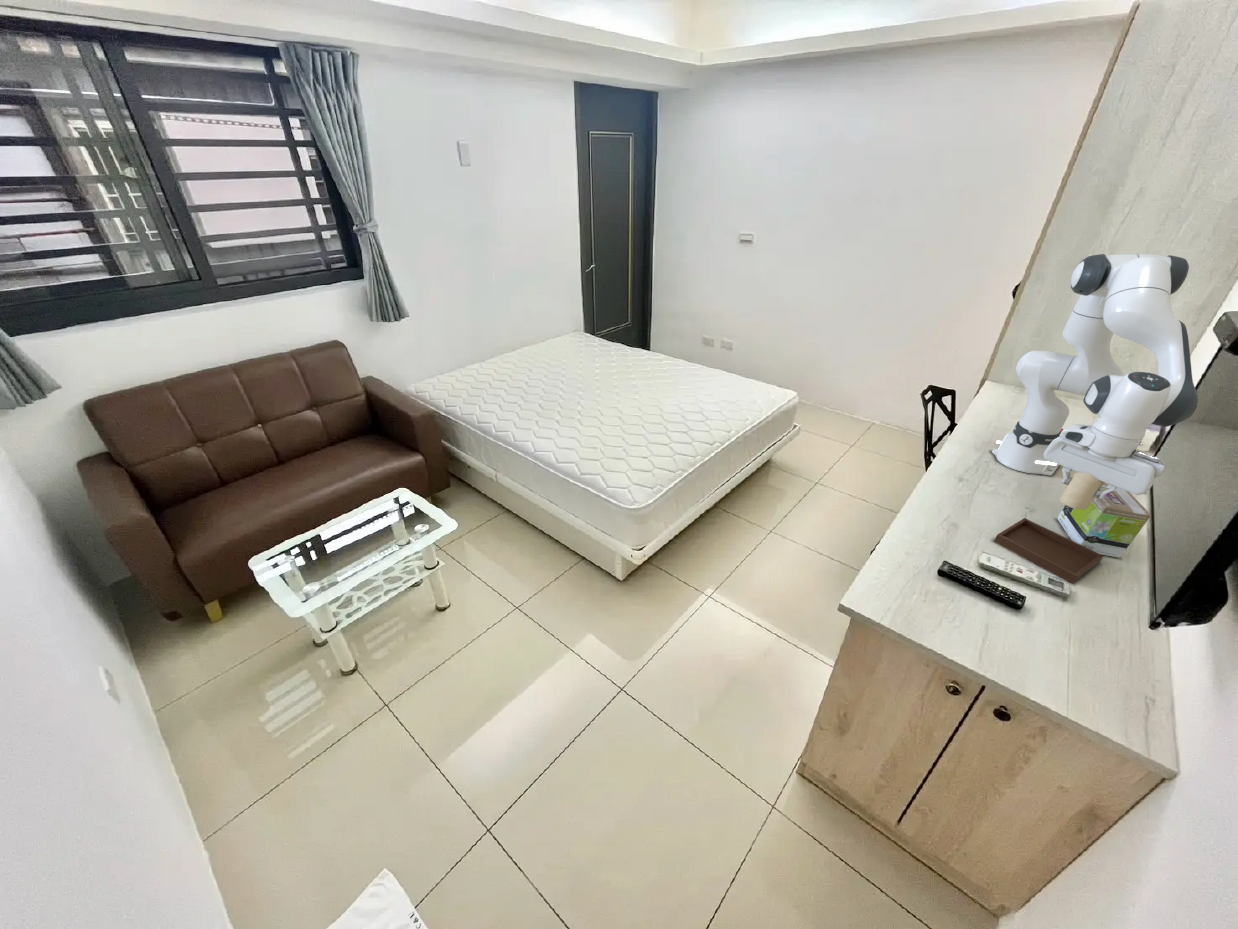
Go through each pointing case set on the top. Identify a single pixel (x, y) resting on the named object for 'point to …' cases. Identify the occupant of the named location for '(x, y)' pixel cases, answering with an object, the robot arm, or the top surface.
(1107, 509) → the tea box
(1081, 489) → the candle
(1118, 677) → the top surface
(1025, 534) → the tray
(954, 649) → the top surface
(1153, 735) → the top surface
